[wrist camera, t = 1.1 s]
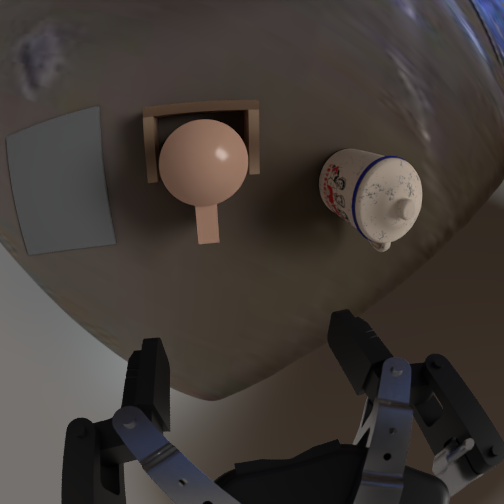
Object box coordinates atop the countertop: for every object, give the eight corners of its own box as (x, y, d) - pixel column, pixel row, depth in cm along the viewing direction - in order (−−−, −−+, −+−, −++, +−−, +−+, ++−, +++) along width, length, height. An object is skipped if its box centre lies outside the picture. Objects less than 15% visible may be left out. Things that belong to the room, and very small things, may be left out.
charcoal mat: (7, 136, 20) (6, 137, 19) (99, 106, 22) (98, 105, 22) (29, 253, 27) (28, 255, 26) (116, 242, 29) (115, 244, 29)
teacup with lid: (307, 158, 29) (363, 178, 19) (369, 138, 29) (436, 152, 19) (329, 245, 35) (377, 293, 25) (383, 221, 35) (439, 257, 25)
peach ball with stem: (167, 125, 25) (156, 124, 18) (234, 120, 26) (247, 117, 19) (175, 219, 29) (168, 249, 22) (236, 213, 31) (249, 241, 24)
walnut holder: (148, 110, 24) (142, 108, 21) (252, 102, 25) (258, 99, 23) (152, 178, 27) (147, 183, 24) (253, 169, 29) (259, 174, 26)
